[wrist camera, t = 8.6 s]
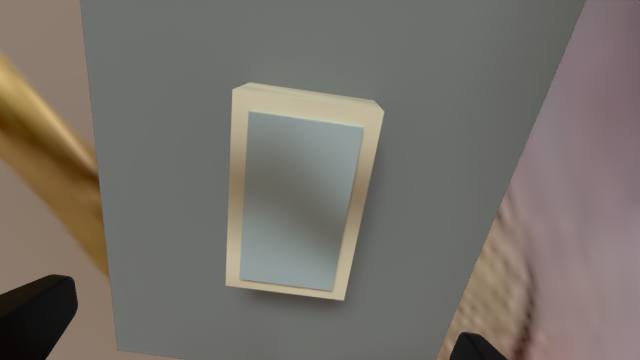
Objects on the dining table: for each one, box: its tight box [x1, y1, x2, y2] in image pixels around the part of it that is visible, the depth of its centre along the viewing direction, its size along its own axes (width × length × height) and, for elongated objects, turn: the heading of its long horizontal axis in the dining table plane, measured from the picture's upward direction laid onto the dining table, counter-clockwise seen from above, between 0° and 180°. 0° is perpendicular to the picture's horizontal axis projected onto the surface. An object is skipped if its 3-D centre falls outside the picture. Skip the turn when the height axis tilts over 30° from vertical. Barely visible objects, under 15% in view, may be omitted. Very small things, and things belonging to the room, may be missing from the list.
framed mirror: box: [225, 82, 384, 301], centre depth 13 cm, size 8×5×3 cm, turn 172°
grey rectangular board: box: [80, 0, 586, 360], centre depth 15 cm, size 18×24×1 cm
